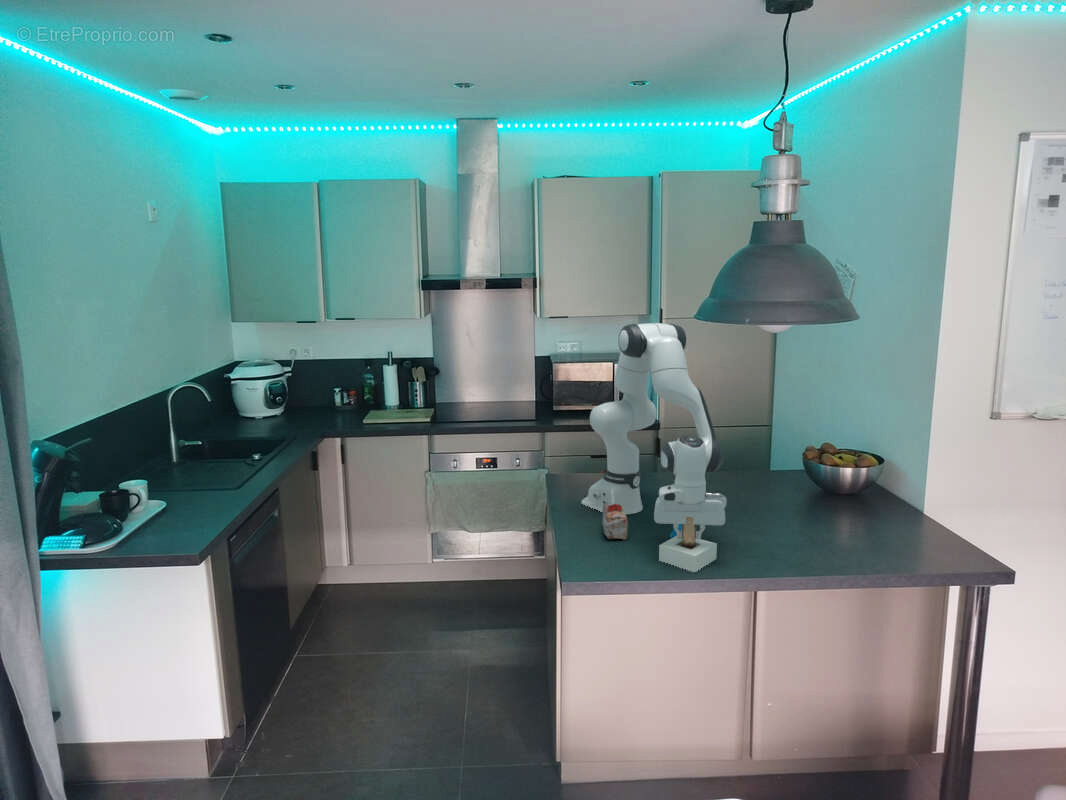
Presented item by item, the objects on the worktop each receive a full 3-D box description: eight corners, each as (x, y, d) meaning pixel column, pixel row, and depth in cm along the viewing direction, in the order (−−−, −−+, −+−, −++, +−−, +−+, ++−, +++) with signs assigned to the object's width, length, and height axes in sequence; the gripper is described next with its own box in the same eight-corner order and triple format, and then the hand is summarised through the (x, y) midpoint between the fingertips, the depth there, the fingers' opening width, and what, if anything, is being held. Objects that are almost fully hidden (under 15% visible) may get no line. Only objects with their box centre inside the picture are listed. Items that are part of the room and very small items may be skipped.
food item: (630, 541, 225) (630, 511, 223) (605, 542, 225) (605, 512, 223) (622, 525, 238) (622, 497, 236) (598, 526, 238) (598, 498, 236)
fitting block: (658, 561, 210) (659, 545, 209) (680, 548, 218) (681, 533, 217) (694, 572, 202) (695, 556, 201) (716, 559, 210) (716, 543, 209)
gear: (672, 525, 233) (694, 508, 228) (684, 538, 233) (707, 522, 228) (664, 542, 223) (687, 525, 218) (678, 556, 223) (701, 539, 218)
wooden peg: (678, 554, 209) (679, 515, 207) (685, 550, 212) (686, 512, 210) (690, 558, 207) (691, 518, 205) (697, 554, 210) (698, 515, 207)
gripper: (725, 490, 208) (723, 535, 210) (654, 488, 211) (653, 532, 213) (728, 497, 202) (726, 543, 204) (654, 494, 204) (653, 540, 207)
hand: (688, 537), depth 209 cm, fingers closed on wooden peg, 4 cm apart
